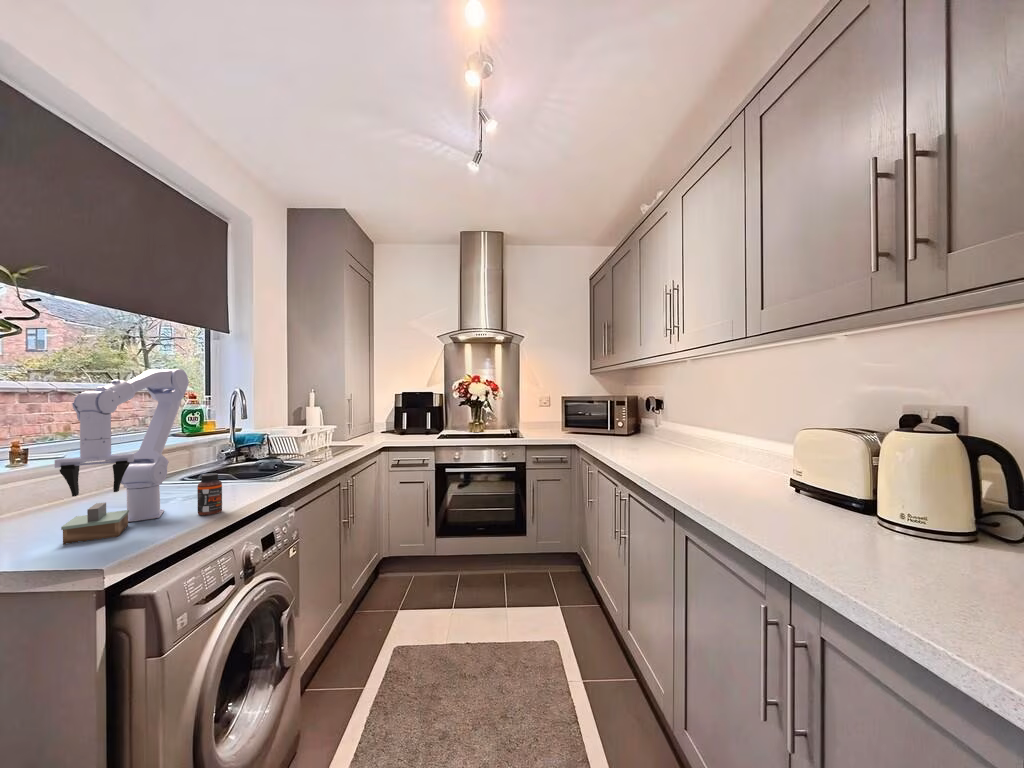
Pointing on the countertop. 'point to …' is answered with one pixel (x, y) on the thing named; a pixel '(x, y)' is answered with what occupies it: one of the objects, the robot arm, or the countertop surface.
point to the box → (95, 531)
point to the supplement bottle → (209, 495)
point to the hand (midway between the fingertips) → (96, 493)
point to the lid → (95, 517)
